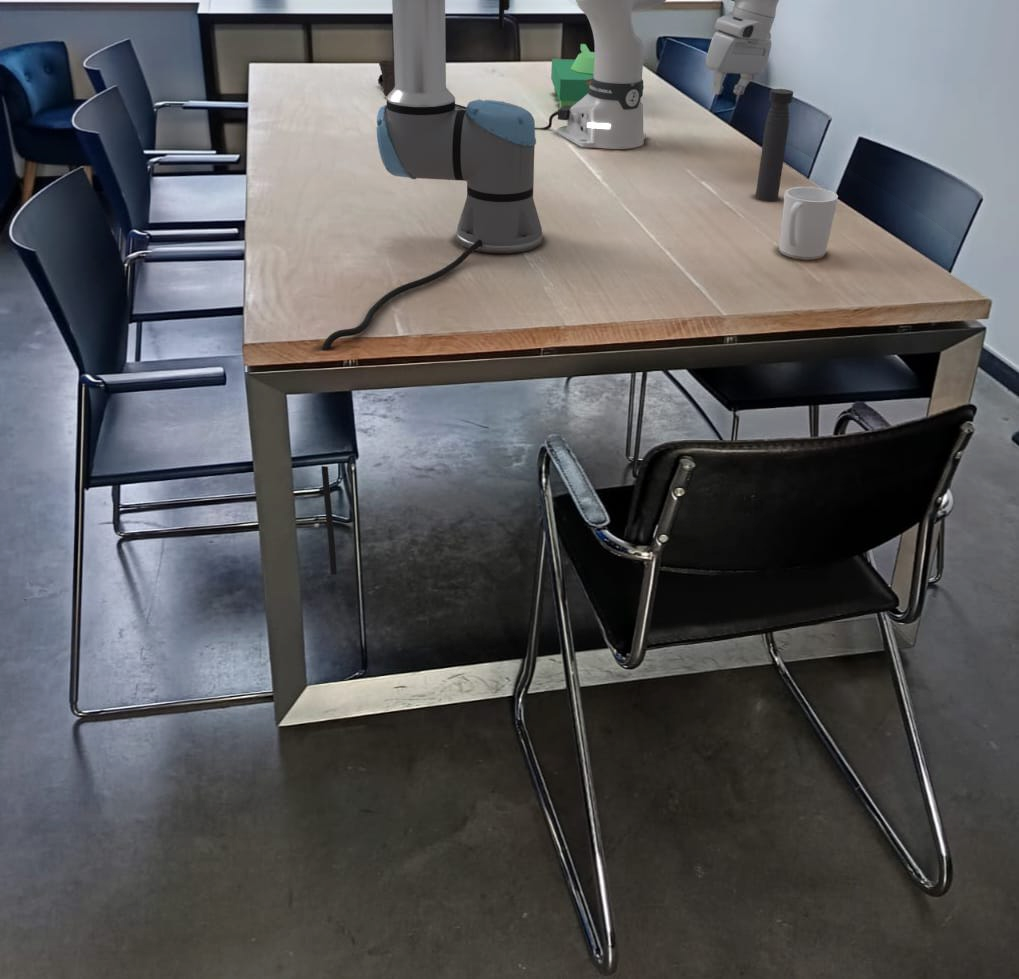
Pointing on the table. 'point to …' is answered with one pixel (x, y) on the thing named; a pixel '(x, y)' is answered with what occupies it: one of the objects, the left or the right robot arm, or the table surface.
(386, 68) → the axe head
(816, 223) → the mug
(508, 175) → the left robot arm
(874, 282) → the table surface
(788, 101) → the cap
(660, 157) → the table surface
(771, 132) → the bottle
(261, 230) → the table surface
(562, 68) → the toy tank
